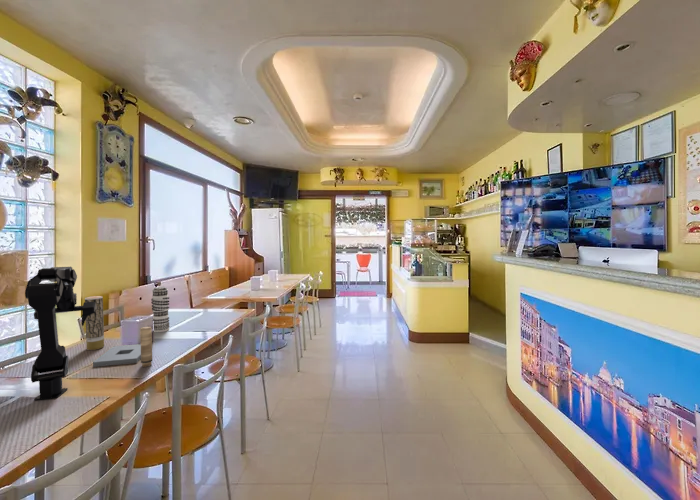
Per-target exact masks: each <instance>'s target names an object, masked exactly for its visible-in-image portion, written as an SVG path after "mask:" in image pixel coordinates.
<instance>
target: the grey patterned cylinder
mask: <svg viewBox="0 0 700 500" xmlns="http://www.w3.org/2000/svg"><path fill="white" fill-rule="evenodd" d="M84 302H95V303H96V309H95V313H93V314H91V315H90V316H87V318H86V320H85V339H86V342H85V343H86V350H89V351H95V350H100V349H102V348H104V346H105V328H104V327H105V325H104V298H103V295H94V296H88V297H87V296H86V297H85V298H84Z"/></svg>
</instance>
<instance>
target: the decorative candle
mask: <svg viewBox="0 0 700 500" xmlns="http://www.w3.org/2000/svg"><path fill="white" fill-rule="evenodd" d="M151 291H152V298H151V299H150V300H151V307H152V308H151V310H152V319H153V320H152V322H153V321H154V323H153V324H154V332H153V333H163V332H167V331H169V330H170V327H171V326H170V316H169V310H170V306H169V305H170V303H169V302H170V300H169V299H170V296H169V294H168V293H169V289H168V288H167V287H166V286H157V287H156V286H155V287H154V288H153V289H152V290H151Z"/></svg>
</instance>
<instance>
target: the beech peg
mask: <svg viewBox="0 0 700 500" xmlns="http://www.w3.org/2000/svg"><path fill="white" fill-rule="evenodd" d="M139 332H140V335H139V337H140V339H139V340H140V344H141V359H140V364H141V367H143V368H146V367H150V366H152V361H153V340H152V339H153V338H152V337H153V335H152V333H153V329H152V326H144V327H141V328H139Z"/></svg>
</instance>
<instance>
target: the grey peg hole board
mask: <svg viewBox="0 0 700 500" xmlns="http://www.w3.org/2000/svg"><path fill="white" fill-rule="evenodd" d="M140 361H141V343H140V344H127V345H114V346H113V347H111V348H109V349H108V350H107V351H106V352H104V353H103V354H102V355H100V356H99V357H98V358H97V359H95V360H93V361H92V367H93V368H96V367H107V366H116V365H128V364H138V363H139V362H140Z"/></svg>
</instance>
